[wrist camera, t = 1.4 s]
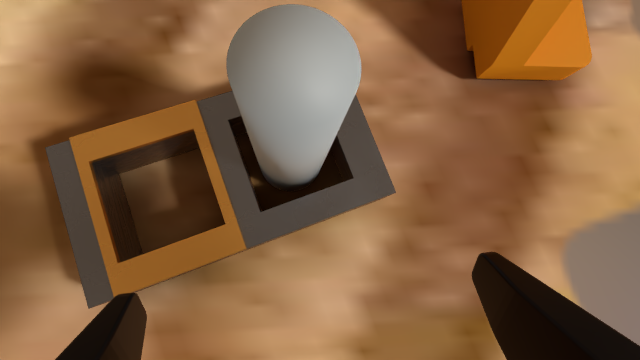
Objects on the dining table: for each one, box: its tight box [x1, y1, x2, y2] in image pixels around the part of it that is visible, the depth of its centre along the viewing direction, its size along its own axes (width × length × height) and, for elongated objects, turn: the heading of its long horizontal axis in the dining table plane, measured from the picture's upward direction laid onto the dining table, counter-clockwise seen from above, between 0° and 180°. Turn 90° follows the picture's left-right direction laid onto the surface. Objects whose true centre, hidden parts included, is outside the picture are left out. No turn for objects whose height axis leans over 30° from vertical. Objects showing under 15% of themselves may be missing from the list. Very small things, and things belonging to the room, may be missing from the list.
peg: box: [227, 4, 361, 191], centre depth 16 cm, size 4×4×12 cm
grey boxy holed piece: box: [45, 91, 396, 308], centre depth 20 cm, size 9×17×3 cm, turn 111°
